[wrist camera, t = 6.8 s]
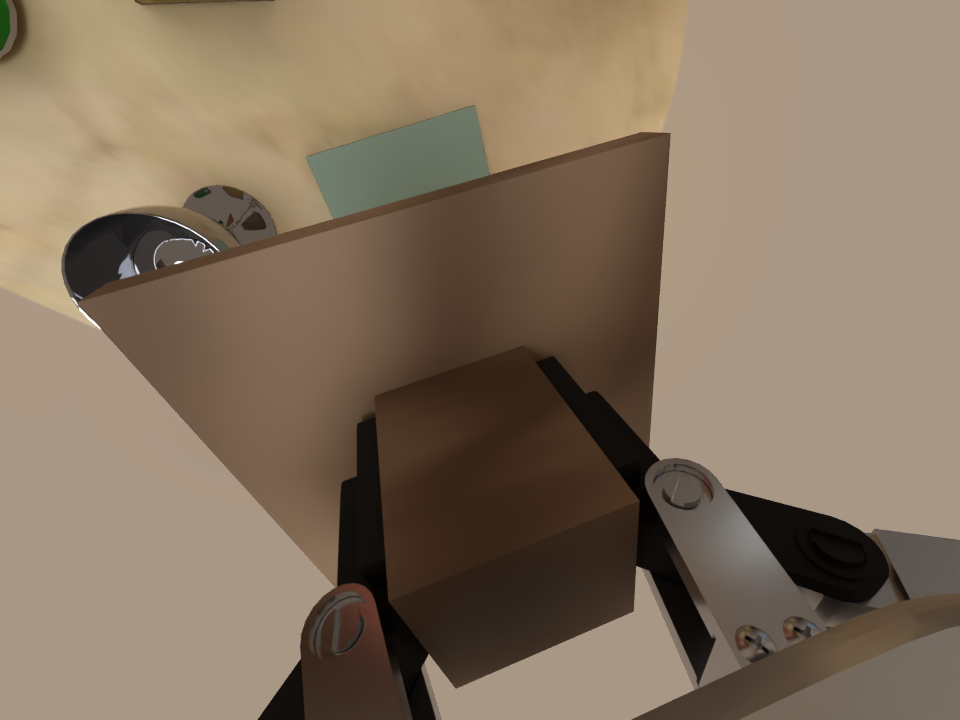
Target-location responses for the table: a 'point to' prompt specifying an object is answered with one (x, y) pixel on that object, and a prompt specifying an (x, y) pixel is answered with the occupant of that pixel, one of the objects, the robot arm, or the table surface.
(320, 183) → the mat
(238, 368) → the glass cover
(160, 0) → the food packaging
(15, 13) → the soda can
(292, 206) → the table surface
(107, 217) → the wine glass
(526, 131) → the table surface
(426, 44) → the table surface
